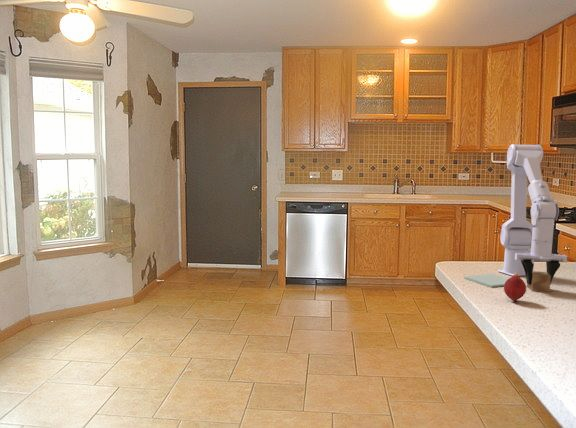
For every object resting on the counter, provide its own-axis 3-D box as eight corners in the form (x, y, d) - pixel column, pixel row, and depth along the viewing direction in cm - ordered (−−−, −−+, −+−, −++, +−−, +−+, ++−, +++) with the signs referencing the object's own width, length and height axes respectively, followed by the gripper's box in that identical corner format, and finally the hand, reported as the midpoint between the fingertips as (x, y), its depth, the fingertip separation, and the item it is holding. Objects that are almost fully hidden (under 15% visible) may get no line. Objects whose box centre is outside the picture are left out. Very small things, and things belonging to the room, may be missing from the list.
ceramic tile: (492, 275, 182) (492, 273, 182) (520, 284, 171) (520, 282, 171) (464, 278, 177) (464, 276, 177) (491, 287, 166) (491, 285, 166)
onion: (527, 304, 149) (529, 276, 148) (505, 303, 150) (507, 275, 149) (522, 298, 155) (524, 271, 154) (501, 297, 156) (503, 270, 155)
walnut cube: (532, 291, 163) (533, 274, 163) (526, 286, 168) (528, 271, 168) (549, 291, 163) (550, 275, 162) (543, 287, 168) (545, 271, 167)
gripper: (521, 241, 160) (517, 286, 162) (572, 243, 159) (568, 288, 161) (514, 237, 167) (510, 280, 169) (563, 239, 166) (559, 282, 167)
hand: (538, 284), depth 165 cm, fingers closed on walnut cube, 5 cm apart
